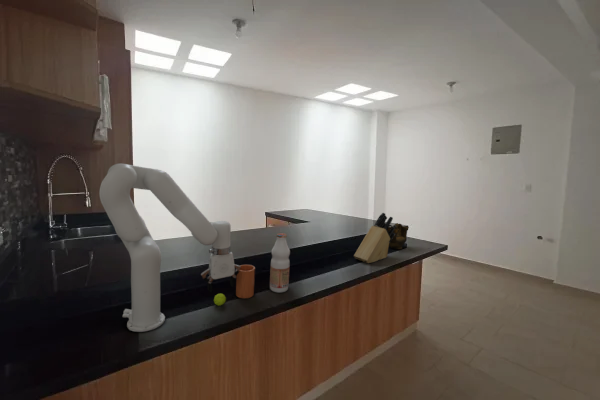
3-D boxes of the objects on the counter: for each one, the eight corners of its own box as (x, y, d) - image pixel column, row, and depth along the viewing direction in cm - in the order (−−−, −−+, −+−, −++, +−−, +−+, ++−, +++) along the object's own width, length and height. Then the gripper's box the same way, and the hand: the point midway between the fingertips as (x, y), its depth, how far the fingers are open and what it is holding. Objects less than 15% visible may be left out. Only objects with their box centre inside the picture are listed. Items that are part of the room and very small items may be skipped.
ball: (211, 307, 124) (212, 296, 124) (216, 301, 129) (216, 291, 129) (223, 308, 124) (223, 297, 123) (227, 302, 129) (227, 292, 128)
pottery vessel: (393, 251, 221) (396, 226, 218) (380, 248, 228) (383, 223, 226) (409, 246, 237) (412, 223, 235) (397, 243, 245) (399, 220, 243)
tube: (233, 297, 134) (234, 270, 132) (238, 289, 142) (239, 264, 141) (251, 299, 134) (252, 271, 132) (255, 291, 142) (256, 265, 140)
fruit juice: (268, 292, 141) (271, 236, 138) (270, 284, 151) (273, 231, 147) (287, 293, 141) (290, 237, 138) (288, 285, 151) (291, 232, 147)
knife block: (394, 255, 212) (399, 213, 208) (367, 265, 188) (371, 218, 184) (380, 251, 220) (384, 211, 216) (352, 260, 196) (356, 215, 192)
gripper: (203, 256, 115) (204, 297, 118) (244, 249, 126) (243, 287, 128) (198, 251, 121) (198, 289, 124) (236, 245, 132) (236, 280, 134)
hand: (221, 288), depth 126 cm, fingers open, 9 cm apart
